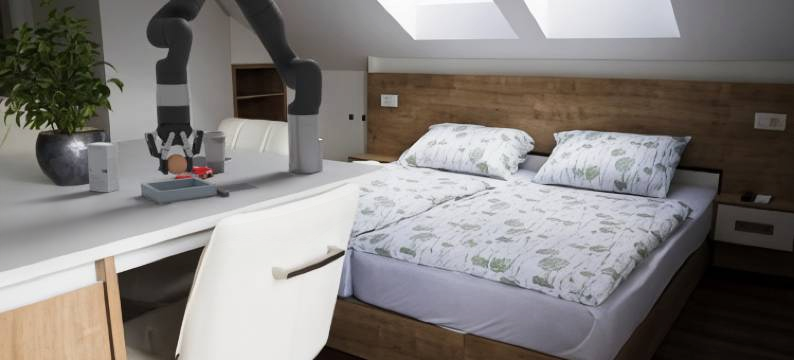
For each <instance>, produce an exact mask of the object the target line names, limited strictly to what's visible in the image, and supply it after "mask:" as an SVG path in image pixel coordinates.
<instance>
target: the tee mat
mask: <svg viewBox="0 0 794 360" xmlns="http://www.w3.org/2000/svg"><path fill="white" fill-rule="evenodd" d="M216 187H217V188H220V189H222V190H225V191H227V192H229V193H231V192H237V191H239V192H240V191H244V190H245V191H247V190H254V189H259V187H257V186H254V185H252V184H250V183H246V182H242V183H234V184H226V185H218V186H217V185H216Z"/></svg>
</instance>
